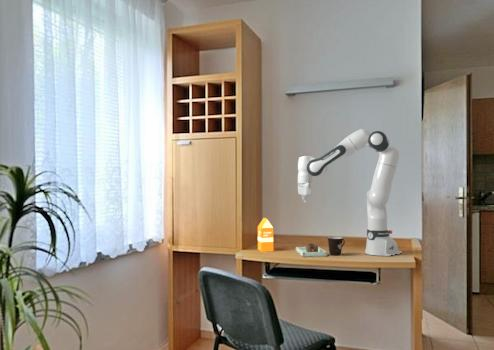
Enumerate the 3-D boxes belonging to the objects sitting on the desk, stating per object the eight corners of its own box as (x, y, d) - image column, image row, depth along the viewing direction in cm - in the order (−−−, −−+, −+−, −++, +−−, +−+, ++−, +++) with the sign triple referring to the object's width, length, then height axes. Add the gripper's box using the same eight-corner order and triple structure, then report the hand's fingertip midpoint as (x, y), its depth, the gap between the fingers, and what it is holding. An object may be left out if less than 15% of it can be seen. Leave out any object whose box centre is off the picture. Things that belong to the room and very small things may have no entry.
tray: (318, 250, 261) (318, 246, 261) (327, 256, 243) (327, 252, 243) (295, 251, 260) (295, 247, 260) (303, 256, 241) (303, 252, 241)
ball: (314, 252, 246) (312, 255, 248) (315, 249, 248) (313, 252, 250) (309, 249, 247) (308, 253, 248) (311, 246, 249) (309, 250, 251)
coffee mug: (331, 256, 242) (331, 239, 242) (325, 253, 251) (325, 236, 251) (350, 255, 244) (350, 238, 244) (343, 253, 253) (343, 236, 253)
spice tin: (314, 243, 253) (318, 245, 245) (314, 252, 253) (318, 254, 245) (306, 243, 253) (309, 246, 245) (306, 252, 253) (309, 254, 245)
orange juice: (261, 252, 257) (261, 219, 257) (257, 249, 266) (257, 217, 266) (273, 251, 259) (273, 218, 259) (269, 249, 268) (269, 217, 268)
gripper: (313, 180, 259) (313, 203, 259) (305, 180, 280) (305, 201, 280) (303, 180, 259) (303, 203, 259) (296, 180, 279) (296, 201, 279)
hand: (304, 202), depth 269 cm, fingers closed
